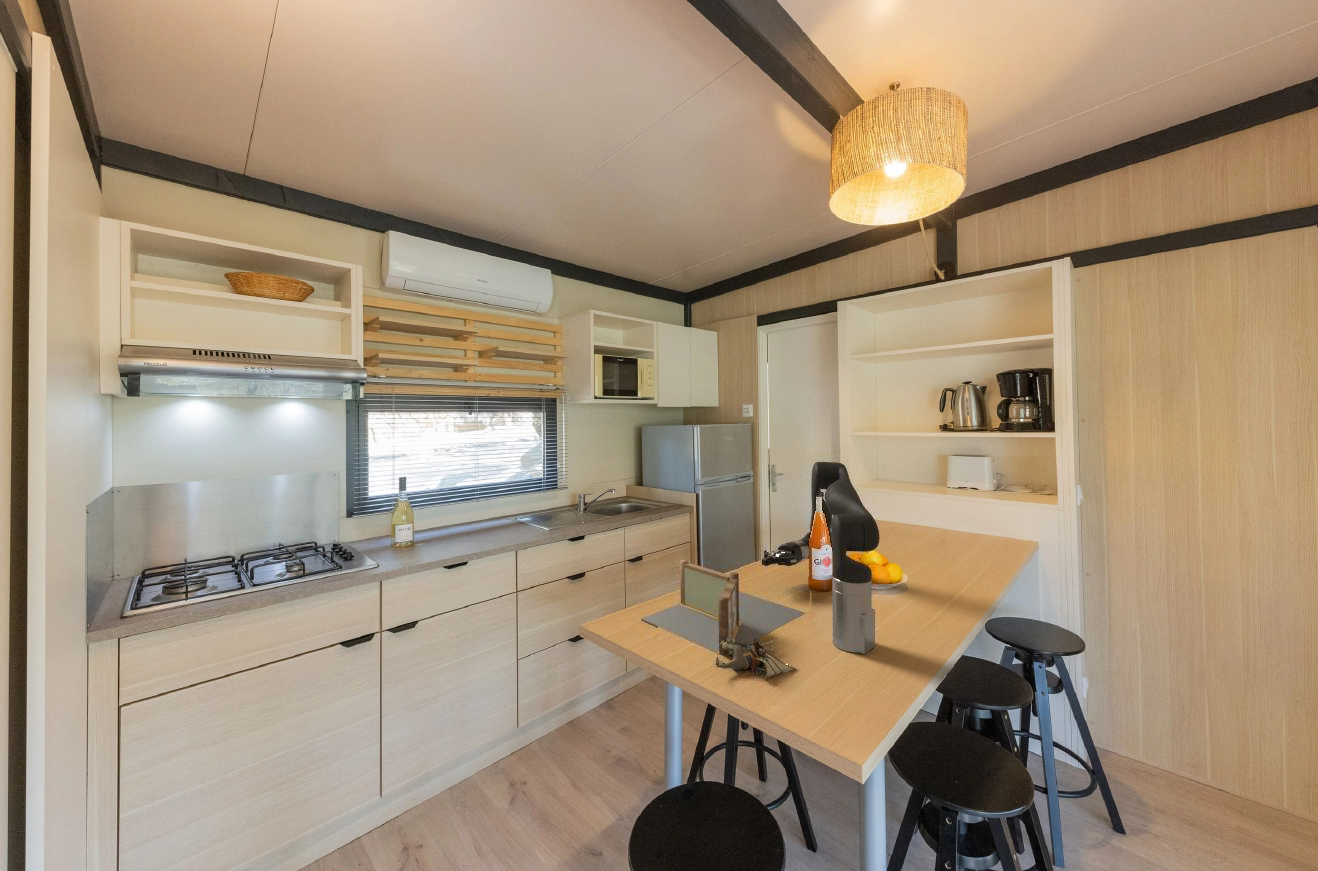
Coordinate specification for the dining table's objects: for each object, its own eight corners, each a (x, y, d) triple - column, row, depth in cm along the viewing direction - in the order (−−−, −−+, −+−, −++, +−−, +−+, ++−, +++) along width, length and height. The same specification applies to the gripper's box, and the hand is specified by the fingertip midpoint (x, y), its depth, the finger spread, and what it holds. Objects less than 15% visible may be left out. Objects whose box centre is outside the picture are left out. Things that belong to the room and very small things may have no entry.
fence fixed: (731, 621, 136) (730, 572, 136) (739, 621, 136) (739, 572, 135) (718, 654, 117) (717, 597, 117) (727, 655, 117) (727, 598, 116)
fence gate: (733, 619, 137) (732, 573, 136) (727, 621, 135) (727, 575, 135) (684, 600, 151) (683, 559, 151) (679, 602, 150) (678, 561, 149)
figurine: (743, 619, 124) (808, 642, 114) (741, 641, 125) (805, 666, 115) (704, 651, 108) (776, 681, 98) (702, 676, 108) (773, 708, 99)
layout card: (807, 614, 141) (807, 612, 141) (725, 659, 116) (725, 656, 116) (724, 587, 164) (724, 586, 164) (640, 620, 139) (640, 618, 139)
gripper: (776, 538, 171) (746, 547, 159) (810, 545, 161) (781, 554, 150) (777, 559, 171) (747, 569, 159) (810, 567, 162) (781, 578, 150)
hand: (763, 562), depth 155 cm, fingers closed
